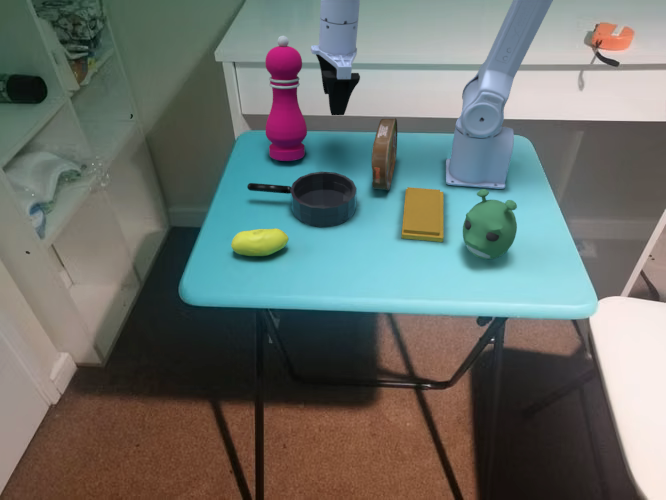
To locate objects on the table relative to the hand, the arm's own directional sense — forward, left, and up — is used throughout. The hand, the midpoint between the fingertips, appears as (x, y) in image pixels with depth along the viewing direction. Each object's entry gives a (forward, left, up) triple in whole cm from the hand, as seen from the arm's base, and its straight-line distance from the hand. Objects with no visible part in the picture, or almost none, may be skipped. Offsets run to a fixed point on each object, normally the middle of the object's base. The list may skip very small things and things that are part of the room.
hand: (333, 103), depth 89 cm
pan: (-1, +15, -11) cm, 18 cm away
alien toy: (-25, +23, -11) cm, 35 cm away
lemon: (+6, +27, -11) cm, 29 cm away
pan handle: (+8, +15, -9) cm, 19 cm away
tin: (-9, +4, -11) cm, 15 cm away
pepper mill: (+8, 0, -10) cm, 13 cm away
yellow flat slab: (-16, +15, -11) cm, 24 cm away
